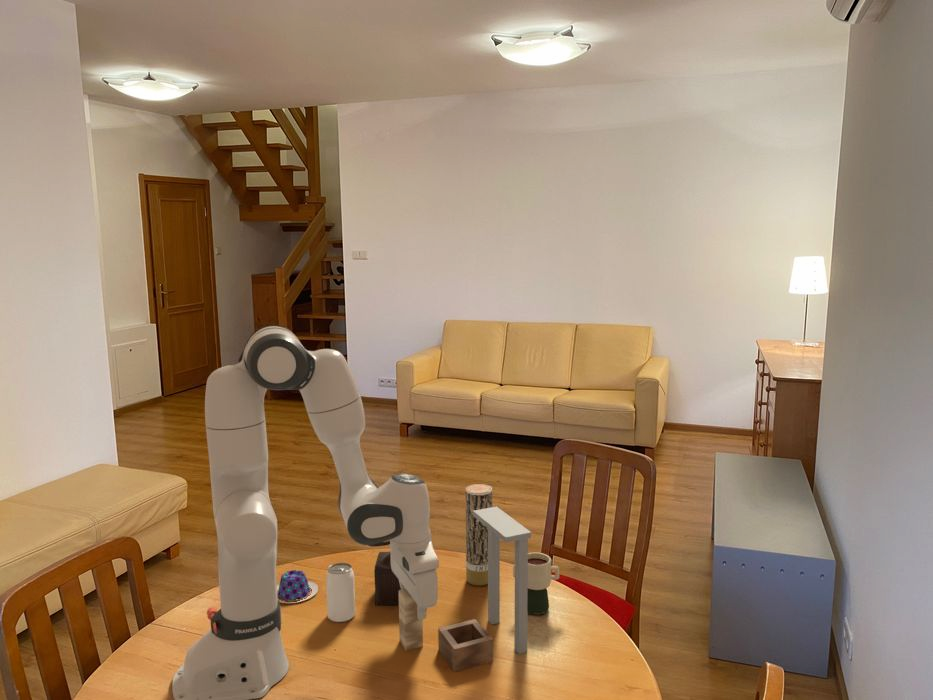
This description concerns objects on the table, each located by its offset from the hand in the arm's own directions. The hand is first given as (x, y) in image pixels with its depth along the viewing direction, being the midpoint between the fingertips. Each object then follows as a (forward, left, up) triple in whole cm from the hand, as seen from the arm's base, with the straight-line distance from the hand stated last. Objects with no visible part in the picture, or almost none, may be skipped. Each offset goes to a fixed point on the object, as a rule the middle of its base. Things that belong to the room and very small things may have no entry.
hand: (413, 607), depth 153 cm
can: (-12, +18, -9) cm, 23 cm away
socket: (+8, -9, -8) cm, 15 cm away
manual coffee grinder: (+1, +23, -9) cm, 25 cm away
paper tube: (+25, +20, -9) cm, 33 cm away
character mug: (+31, +1, -9) cm, 32 cm away
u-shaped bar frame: (+18, -6, -8) cm, 21 cm away
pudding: (-20, +34, -9) cm, 40 cm away
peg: (-1, 0, -8) cm, 8 cm away
